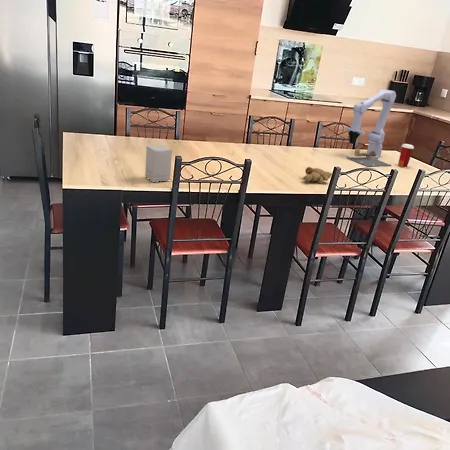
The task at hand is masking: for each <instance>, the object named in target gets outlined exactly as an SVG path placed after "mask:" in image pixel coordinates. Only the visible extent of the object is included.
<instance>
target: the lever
mask: <svg viewBox="0 0 450 450" xmlns="http://www.w3.org/2000/svg"><path fill="white" fill-rule="evenodd" d="M361 149H362V148H357V147H355V149H354V153H353V156H354V157H366V156H376V153H375V151H372V152H369V153H367V152H363V153H361Z"/></svg>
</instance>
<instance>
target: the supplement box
mask: <svg viewBox="0 0 450 450" xmlns="http://www.w3.org/2000/svg"><path fill="white" fill-rule="evenodd" d="M145 151H146V154H145V156H146V157H145V173H144V175H145V176H146V177H147V178H149V179H150V180H151V181H152V182H151V181H150V180H149V179H148V180H149V181H150V182H151V183H153V182H155V183H160V182H159V181H168V180H170V181H171V171H172V156H173V155H172V154H173V150H172V148H171V149H170V148H169V147H167V146H165V145H147V146H146V149H145ZM145 176H144V177H145ZM146 177H145V178H146ZM147 178H146V179H147ZM168 182H169V181H168Z"/></svg>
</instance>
